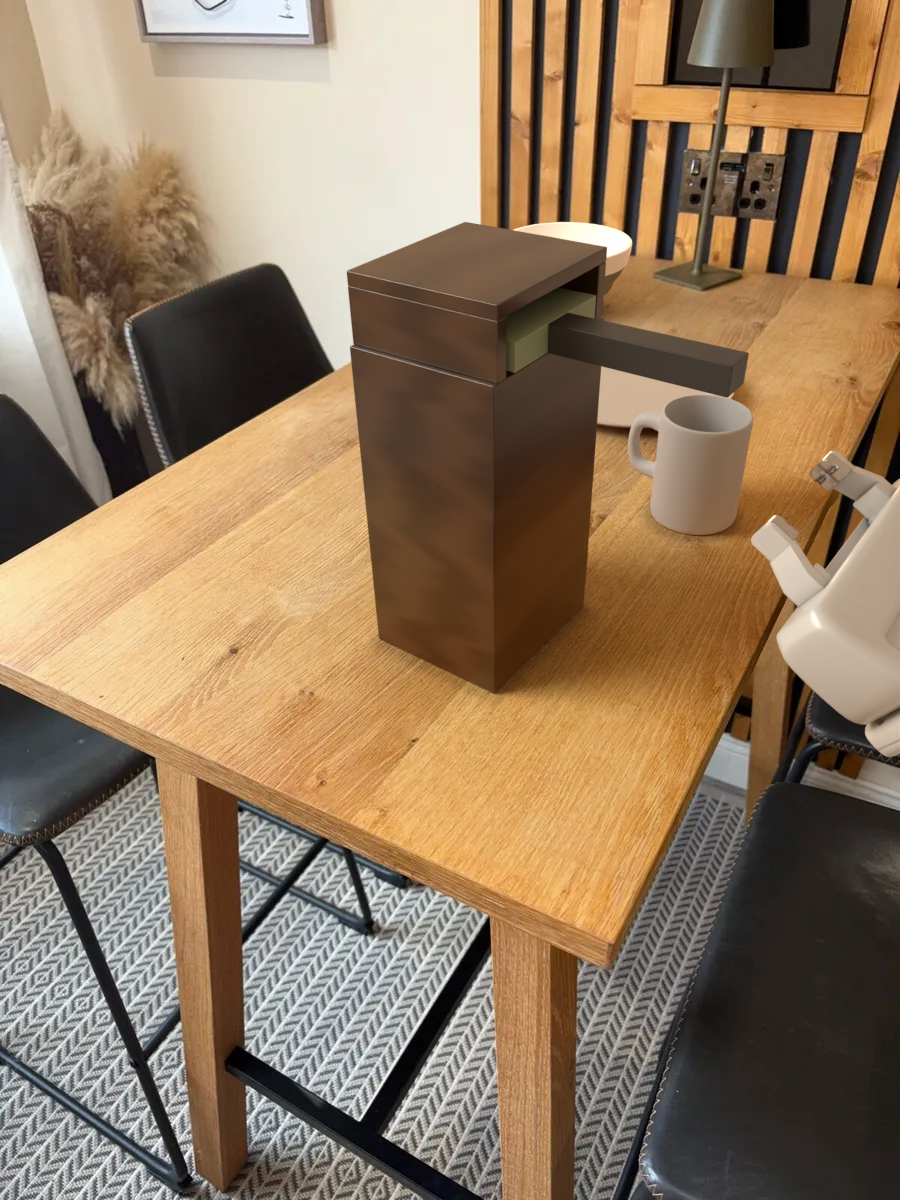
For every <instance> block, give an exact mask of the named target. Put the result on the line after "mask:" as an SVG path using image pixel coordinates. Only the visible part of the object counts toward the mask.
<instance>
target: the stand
mask: <svg viewBox="0 0 900 1200" xmlns="http://www.w3.org/2000/svg"><path fill="white" fill-rule="evenodd" d="M606 257H607V247H605V246H599V245H593V244H588V243H582V242H576V241H571V240H565V239H560V238H554V237H548V236H543V235H537V234H531V233H526V232H520V231H514V229H510V228H509V229H508V228H503V227H497V226H492V225H485V224H479V223H474V222H469V221H463V222H461V223H459V224H456V225H453V226H452V227H449V228H447V229H444V230H442V231H440V232H437V233H435V234H433V235H430V236H428V237H425V238H422V239H420V240H417V241H416V242H413V243H411V244H407V245H406V246H403V247H401V248H398V249H396V250H393V251H391V252H388V253H386V254H384V255H381V256H379V257H377V258H374V259H372V260H369V261H366V262H364V263H362V264H360V265H357V266H355V267H352V268H350V269H348V270H346V281H347V292H348V302H349V303H348V304H349V312H350V324H351V334H352V343H353V344H352V345H350V346H349V353H350V363H351V371H352V383H353V393H354V403H355V413H356V423H357V432H358V433H357V434H358V442H359V453H360V462H361V472H362V473H361V475H362V483H363V492H364V502H365V503H364V504H365V513H366V523H367V532H368V533H367V534H368V540H369V541H368V543H369V544H368V545H369V553H370V562H371V573H372V582H373V583H372V585H373V592H374V593H373V594H374V603H375V604H374V605H375V612H376V613H375V615H376V623H377V633H378V639H379V640H381V641H383V642H386V643H388V644H389V645H391V646H394V647H396V648H397V649H400V650H402V651H404V652H406V653H408V654H410V655H413V656H415V657H416V658H418V659H421V660H422V661H424V662H427V663H429V664H430V665H433V666H434V667H437V668H439V669H441V670H444V671H446V672H448V673H450V674H452V675H454V676H456V677H458V678H461V679H462V680H464V681H466V682H469V683H471V684H473V685H475V686H477V687H480V688H481V689H483V690H485V691H488V692H490V693H492V694H496V693H497V692H498V691H499V690H500V689H501V688H502V687H503V686H504V685H505V684H506V683H507V682H508V681H509V680H510V679H511V678H512V677H513V676H514V675H515V674H516V673H517V672H518V671H519V670H520V669H521V668H522V667H523V666H524V665H525V664H526V663H527V662H528V661H529V660H530V659H531V658H532V657H533V656H534V655H535V654H536V653H537V652H538V651H539V650H540V649H541V648H542V647H543V646H544V645H545V644H546V643H547V642H548V641H549V640H550V639H551V638H553V636H554V635H556V633H557V632H558V631H559V630H561V628H562V627H563V626H564V625H565V624H567V623H568V622H569V620H570V619H572V617H573V616H575V614H577V613H578V612H579V610H581V609H582V607H584V606H585V597H586V596H585V595H586V583H587V582H586V581H587V570H588V569H587V568H588V557H589V556H588V555H589V554H588V553H589V552H588V551H589V540H590V529H591V528H590V527H591V526H590V525H591V513H592V500H593V499H592V498H593V486H594V485H593V484H594V471H595V458H596V445H597V444H596V443H597V431H598V430H597V429H598V425H597V418H598V405H599V391H600V377H601V366H598V365H594V364H590V363H586V362H582V361H578V360H574V359H570V358H566V357H562V356H558V355H554V354H550V353H546V354H545V355H543V356H541V357H540V358H538V359H537V360H535V361H533V362H532V363H530V364H528V365H527V366H525V367H524V368H522V369H520V370H519V371H517V372H516V373H513V372H510V371H506V316H507V315H509V314H511V313H513V312H515V311H516V310H518V309H520V308H522V307H524V306H525V305H527V304H529V303H531V302H533V301H535V300H536V299H538V298H540V297H542V296H544V295H546V294H547V293H549V292H551V291H553V290H555V289H556V288H563V289H568V290H572V291H577V292H582V293H587V294H592V295H596V304H595V319H599V320H603V321H606V318H605V317H604V316H603V313H604V296H605V295H604V285H605V270H606Z"/></svg>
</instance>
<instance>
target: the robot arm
mask: <svg viewBox="0 0 900 1200" xmlns="http://www.w3.org/2000/svg"><path fill="white" fill-rule="evenodd" d="M809 471H810V472H809V476H810V478H811V479H812V480H813V481H814V482H815V483H818V485H819V487H820V488H821V489H822V490H824V491H825V493H829V492H830V491H831V490H835V491H836V492H838V493H840V494H842V495H844V496H845V497H847V498H849V499H851V500H852V501H854V502H853V503H852V506H853V507H854V508H855V509H856V510H857V511H858V512H859V513H860V514H861V515H863V518H862V519H861V520H860V521H859V523H858V524H857V525H856V527H855V528H854V530H853V531H852V532H851V534H850V535H849V536H848V538H847V539H846V540H845V541H844V543H843V545H842V546H841V547H840V549H839V550H837V552H836V554H835V556H834V557H833V558H832V559H831V561H830V562H829V563H828V565H827V566H826V567H825V568H824V566H822V565H821V564H820V563H818V562H815V564H813V565H812V563H811V561H810V560H809V558H808V557H807V556H806V553H804V551H803V550H802V548H801V546H800V544H799V543H798V541H797V540H796V539H797V537H798V536H799V535H800V531H798V530H797V529H796V528H795V527H793V526H792V525H791V524H790V523H788V522H787V520H786V519H785V518H784V517H783V516H782V515H778V514H775V515H772V516H771V517H770V518H768V520H767V521H765V522H764V523H763V524H762V525H761V526H760V527H759V528H758V529H756V531H755V533H753V535H752V536H751V538H750V543H751V545H752V546H753V547H754V548H755V549H756V550H757V551H758V552H759V553H760V554H762V556H763V557H765V558H766V559H767V560H768V561H769V565H770V567H771V569H772V571H773V574H774V575H775V577H776V580H777V582H778V584H779V586H780V588H781V591H782V593H783V594H784V595H785V596H786V597H787V598H788V599H789V600H790V601H791V602H793V604H794V605H796V606H797V607H796V608H795V609H794V611H792V614H790V616H789V617H788V619H787V620H786V622H784V624H783V625H782V627H781V629H779V631H778V632H777V634H776V636H775V638H776V643H777V646H778V649H779V651H780V654H781V656H782V659H783V660H784V662H785V663H786V664H787V666H788V667H789V668H790V670H791V671H793V672H794V673H795V674H796V675H797V676H798V677H799V678H800V679H801V680H802V682H804V683H805V685H807V686H808V687H809V688H810V689H811V690H812V691H813V692H814V693H815V694H816V695H818V696H819V697H820V698H821V699H822V700H823V701H824V702H825V703H826V704H828V705H829V706H830V707H831V708H832V709H833V710H834V711H836V712H837V713H838V714H839V715H840V716H842V717H844V718H845V719H846V720H848V721H850V722H851V723H854V724H857V725H863V726H864V725H866V726H865V727H864V735H865V737H866V740H867V741H868V742H869V743H870V744H871V746H873V748H874V749H876V750H877V751H878V752H879V754H881V755H883V756H885V757H887V758H893V757H896V756H898V755H900V478H899V479H897V480H896V481H895V482H893V483H892V484H891V483H890V482H889V481H888V480H887V479H885V477H884V476H882V475H880V474H877V473H874V472H872V471H870V470H867V469H864V468H862V467H860V466H857V465H854V464H853V463H852V462H851V461H849V460H848V459H847V458H846V457H845V456H843V455H842V454H841V453H840V452H839V451H837V450H829V451H828V453H826V454H825V455H824V456H823V457H822V458H821V459H820V460H819V461H817V462H816V464H815V465H814V466H813V467H812V468H811V470H809Z"/></svg>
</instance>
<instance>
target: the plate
mask: <svg viewBox="0 0 900 1200" xmlns="http://www.w3.org/2000/svg"><path fill="white" fill-rule="evenodd" d="M735 393H736V391H735V392H734V393H732V394H731V395H730V396H729V397H728V398H729V399H732V400H733V398H734V396H735ZM688 395H714V394H710V393H706V392H702V391H698V390H694V389H690V388H686V387H682V386H678V385H674V384H670V383H666V382H662V381H658V380H654V379H650V378H646V377H642V376H638V375H634V374H630V373H626V372H622V371H618V370H614V369H610V368H606V367H602V366H601V377H600V391H599V405H598V418H597V426H603V427H608V428H616V429H629V430H630V429H631V426H632V424H633V422H634V420H635V419H636V417H637V416H639V415H640V414H642V413H644V412H656V413H661V412H662V409H663V407H664V406H665V405H666V404H667V403H668V402H669V401H671V400H673V399H676V398H678V397H682V396H688ZM715 396H718V395H715ZM721 397H722V396H721ZM725 398H726V397H725ZM643 429H651V428H650V427H644V428H643Z"/></svg>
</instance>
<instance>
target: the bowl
mask: <svg viewBox="0 0 900 1200" xmlns="http://www.w3.org/2000/svg"><path fill="white" fill-rule="evenodd" d="M513 230H514V231H520V232H526V233H531V234H537V235H543V236H548V237H554V238H560V239H565V240H571V241H576V242H582V243H588V244H593V245H599V246H605V247H607V257H606V270H605V285H604V296H606V295H607V293H609V292H610V290H611V289H613V288H612V287H613V286H614V283H615V282H616V280H617V279H618V278H619V277H620V276H621V274H622V272H623V271H624V270H625V267H626V266H627V265H628V262H629V259H630V256H631V253H632V248H633V239H632V238H631V237H630V236H629V235H628V234H627V233H625V232H624V231H622V230H619V229H617V228H614V227H612V226H611V227H610V226H606V225H601V224H596V223H589V222H577V221H575V222H574V221H555V222H543V223H534V224H529V225H525V226H521V227H516V228H514V229H513Z"/></svg>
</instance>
